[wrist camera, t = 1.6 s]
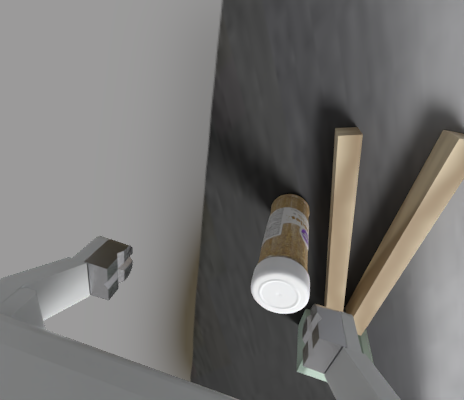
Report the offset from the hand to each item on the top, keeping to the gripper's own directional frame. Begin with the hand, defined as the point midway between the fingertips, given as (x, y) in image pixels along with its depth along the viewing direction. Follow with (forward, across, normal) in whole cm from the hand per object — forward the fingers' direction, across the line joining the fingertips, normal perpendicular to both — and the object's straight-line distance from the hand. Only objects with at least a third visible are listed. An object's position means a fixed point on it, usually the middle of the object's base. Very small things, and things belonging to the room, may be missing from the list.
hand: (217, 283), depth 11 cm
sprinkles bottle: (+20, -4, +6) cm, 22 cm away
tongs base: (+20, -16, +7) cm, 27 cm away
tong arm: (+20, -11, +7) cm, 24 cm away
